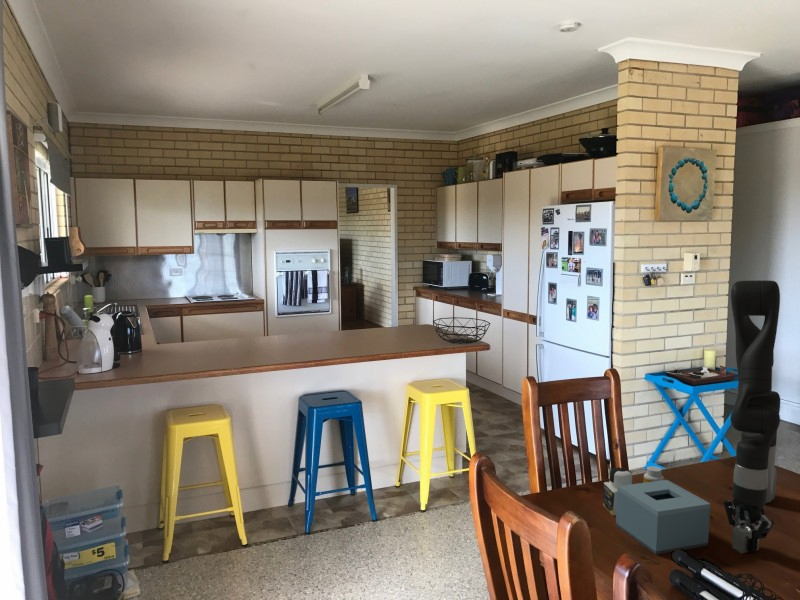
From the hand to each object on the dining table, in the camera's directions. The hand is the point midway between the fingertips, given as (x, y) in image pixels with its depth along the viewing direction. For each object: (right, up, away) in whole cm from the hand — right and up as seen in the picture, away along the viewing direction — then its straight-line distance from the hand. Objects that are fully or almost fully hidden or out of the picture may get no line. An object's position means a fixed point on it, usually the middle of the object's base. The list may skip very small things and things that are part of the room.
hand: (745, 547), depth 160 cm
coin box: (-19, +1, +7) cm, 20 cm away
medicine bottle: (-24, +2, +22) cm, 33 cm away
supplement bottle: (-13, +3, +27) cm, 30 cm away
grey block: (0, 0, 0) cm, 0 cm away
